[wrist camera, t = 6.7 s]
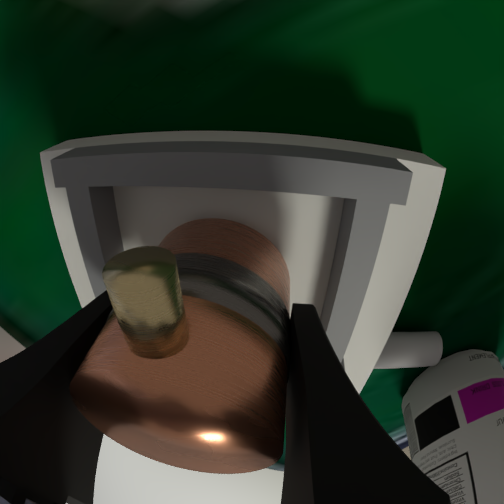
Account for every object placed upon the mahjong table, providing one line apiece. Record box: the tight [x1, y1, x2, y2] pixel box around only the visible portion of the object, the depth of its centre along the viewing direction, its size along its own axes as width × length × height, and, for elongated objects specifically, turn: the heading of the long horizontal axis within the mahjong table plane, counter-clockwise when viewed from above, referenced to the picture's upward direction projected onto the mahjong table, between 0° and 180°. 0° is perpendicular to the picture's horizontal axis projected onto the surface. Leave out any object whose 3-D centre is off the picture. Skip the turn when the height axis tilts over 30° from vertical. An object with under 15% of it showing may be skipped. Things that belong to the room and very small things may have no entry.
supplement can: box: [402, 349, 504, 504], centre depth 11 cm, size 8×8×15 cm
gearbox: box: [40, 131, 446, 394], centre depth 13 cm, size 19×14×4 cm
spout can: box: [69, 218, 291, 474], centre depth 8 cm, size 5×7×6 cm
